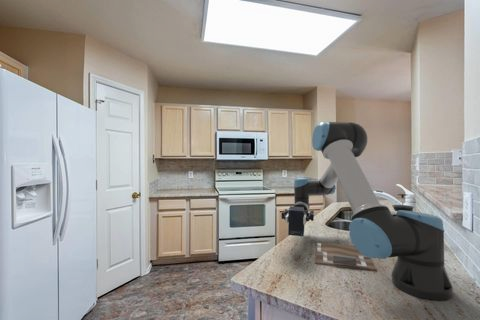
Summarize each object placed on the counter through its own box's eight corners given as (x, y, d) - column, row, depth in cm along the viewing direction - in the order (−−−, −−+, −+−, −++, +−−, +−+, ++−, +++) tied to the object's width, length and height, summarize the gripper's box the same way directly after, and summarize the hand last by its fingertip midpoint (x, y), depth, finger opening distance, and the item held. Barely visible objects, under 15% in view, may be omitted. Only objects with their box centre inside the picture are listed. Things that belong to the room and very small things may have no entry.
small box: (304, 236, 95) (304, 210, 95) (288, 235, 97) (287, 209, 97) (304, 230, 105) (304, 206, 106) (289, 229, 107) (289, 205, 107)
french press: (388, 239, 119) (387, 194, 119) (393, 235, 125) (392, 192, 126) (417, 245, 110) (416, 196, 111) (421, 240, 117) (420, 194, 117)
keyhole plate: (376, 271, 85) (376, 261, 85) (315, 263, 92) (315, 254, 92) (365, 248, 107) (364, 240, 107) (316, 243, 114) (316, 236, 114)
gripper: (320, 219, 115) (320, 231, 93) (280, 216, 121) (271, 228, 99) (320, 203, 115) (320, 212, 93) (280, 202, 121) (271, 210, 100)
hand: (295, 220), depth 96 cm, fingers closed on small box, 6 cm apart
